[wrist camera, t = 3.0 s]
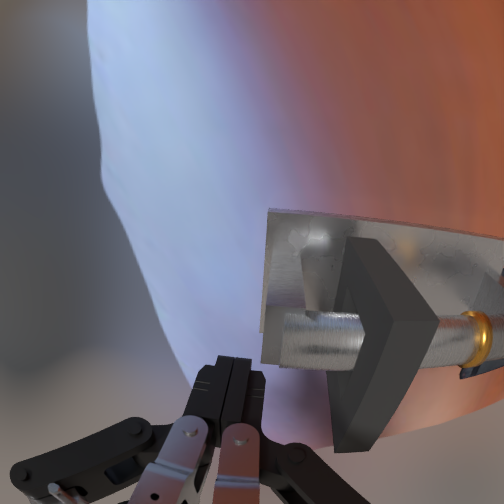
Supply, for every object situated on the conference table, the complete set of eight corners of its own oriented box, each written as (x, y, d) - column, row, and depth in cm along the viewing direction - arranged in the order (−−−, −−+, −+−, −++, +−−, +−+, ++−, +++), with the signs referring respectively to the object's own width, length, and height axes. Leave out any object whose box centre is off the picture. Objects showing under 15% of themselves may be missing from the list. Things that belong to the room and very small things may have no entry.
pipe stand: (503, 237, 19) (571, 285, 10) (471, 329, 22) (514, 393, 13) (268, 207, 20) (255, 264, 11) (260, 324, 24) (246, 416, 15)
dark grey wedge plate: (376, 238, 17) (440, 321, 9) (348, 351, 20) (368, 451, 12) (346, 235, 17) (393, 320, 9) (323, 350, 20) (334, 453, 12)
